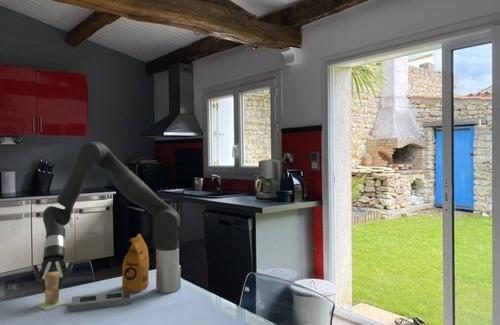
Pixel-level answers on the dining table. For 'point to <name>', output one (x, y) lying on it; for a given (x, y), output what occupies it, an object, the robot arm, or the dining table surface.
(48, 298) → the peg
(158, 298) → the dining table surface
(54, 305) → the mat
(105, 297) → the block with square holes
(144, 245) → the coffee package
